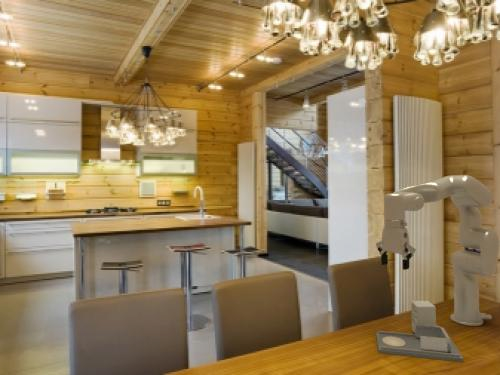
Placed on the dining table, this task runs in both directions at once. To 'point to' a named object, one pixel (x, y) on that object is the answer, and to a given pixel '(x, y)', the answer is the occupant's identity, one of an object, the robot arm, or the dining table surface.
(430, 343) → the collar
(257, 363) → the dining table surface
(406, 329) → the dining table surface
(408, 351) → the base plate
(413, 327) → the supplement box
